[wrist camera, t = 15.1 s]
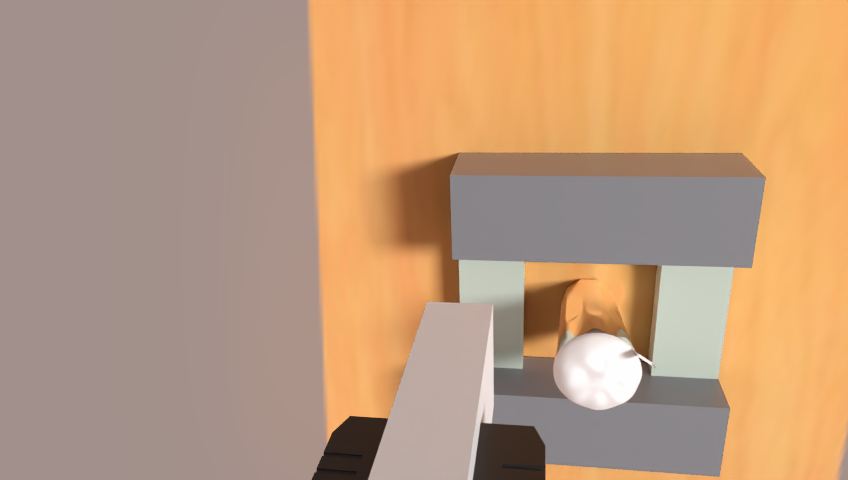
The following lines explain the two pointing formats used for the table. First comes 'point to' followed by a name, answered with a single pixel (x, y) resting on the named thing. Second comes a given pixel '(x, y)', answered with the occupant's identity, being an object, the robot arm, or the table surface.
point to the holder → (612, 244)
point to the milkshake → (595, 349)
